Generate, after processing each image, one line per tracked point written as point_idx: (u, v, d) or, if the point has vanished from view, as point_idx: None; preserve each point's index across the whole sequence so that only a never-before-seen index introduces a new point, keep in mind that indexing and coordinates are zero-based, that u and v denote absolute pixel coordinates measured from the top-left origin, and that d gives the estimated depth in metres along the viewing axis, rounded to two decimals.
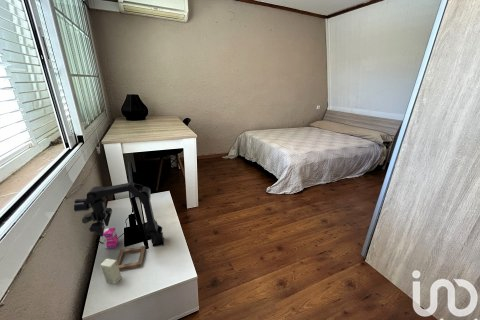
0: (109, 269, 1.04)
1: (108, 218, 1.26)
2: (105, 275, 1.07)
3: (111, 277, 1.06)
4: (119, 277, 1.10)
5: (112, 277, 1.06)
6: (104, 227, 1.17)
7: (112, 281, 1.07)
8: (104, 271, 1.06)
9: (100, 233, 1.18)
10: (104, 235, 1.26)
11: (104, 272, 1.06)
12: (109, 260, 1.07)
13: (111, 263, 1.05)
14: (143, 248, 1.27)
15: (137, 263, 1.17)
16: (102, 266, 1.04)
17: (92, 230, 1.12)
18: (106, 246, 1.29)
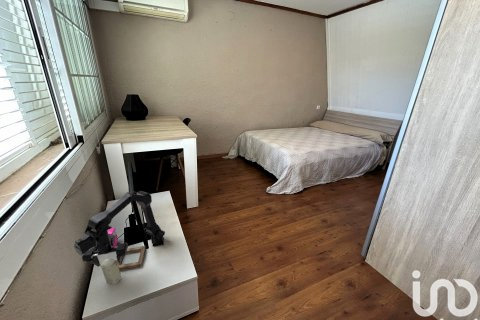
0: (109, 269, 1.04)
1: None
2: (105, 275, 1.07)
3: (111, 277, 1.06)
4: (119, 277, 1.10)
5: (112, 277, 1.06)
6: (92, 261, 1.00)
7: (112, 281, 1.07)
8: (104, 271, 1.06)
9: None
10: None
11: (104, 272, 1.06)
12: (109, 260, 1.07)
13: (111, 263, 1.05)
14: (143, 248, 1.27)
15: (137, 263, 1.17)
16: (102, 266, 1.04)
17: None
18: None
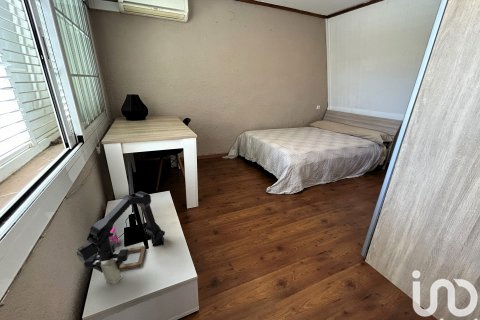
0: (109, 269, 1.04)
1: None
2: (105, 275, 1.07)
3: (111, 277, 1.06)
4: (119, 277, 1.10)
5: (112, 277, 1.06)
6: (96, 267, 1.02)
7: (112, 281, 1.07)
8: (104, 271, 1.06)
9: None
10: None
11: (104, 272, 1.06)
12: (109, 260, 1.07)
13: (111, 263, 1.05)
14: (143, 248, 1.27)
15: (137, 263, 1.17)
16: (102, 266, 1.04)
17: None
18: None
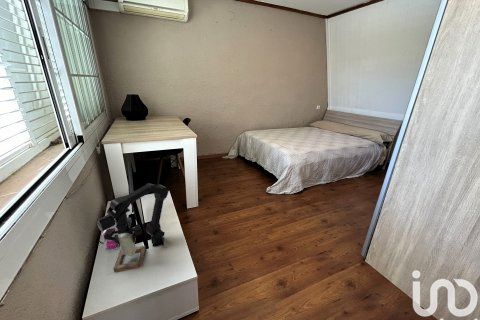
0: (126, 241, 1.14)
1: None
2: (122, 247, 1.17)
3: (128, 249, 1.16)
4: (134, 250, 1.20)
5: (129, 249, 1.16)
6: (114, 239, 1.12)
7: (128, 253, 1.17)
8: (121, 244, 1.16)
9: None
10: None
11: (121, 245, 1.16)
12: (126, 234, 1.17)
13: (128, 236, 1.15)
14: (143, 248, 1.27)
15: (137, 263, 1.17)
16: (120, 239, 1.14)
17: None
18: (106, 246, 1.29)
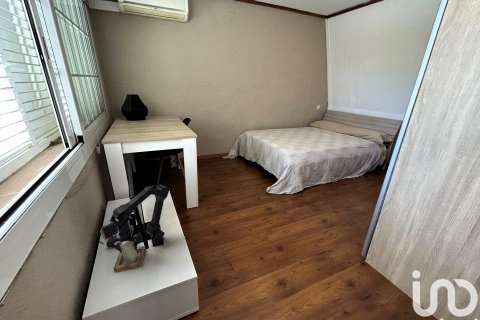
0: (128, 249, 1.16)
1: (134, 244, 1.18)
2: (124, 255, 1.19)
3: (130, 256, 1.18)
4: (136, 257, 1.22)
5: (131, 256, 1.18)
6: (116, 247, 1.14)
7: (130, 260, 1.19)
8: (123, 251, 1.18)
9: None
10: None
11: (123, 252, 1.18)
12: (127, 241, 1.19)
13: (130, 244, 1.17)
14: (143, 248, 1.27)
15: (137, 263, 1.17)
16: (122, 246, 1.17)
17: None
18: (106, 246, 1.29)
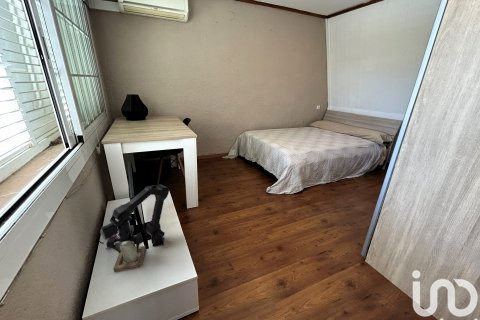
0: (128, 249, 1.16)
1: (136, 244, 1.18)
2: (124, 255, 1.19)
3: (130, 256, 1.18)
4: (136, 257, 1.22)
5: (131, 256, 1.18)
6: (115, 247, 1.14)
7: (130, 260, 1.19)
8: (123, 251, 1.18)
9: None
10: None
11: (123, 252, 1.18)
12: (127, 241, 1.19)
13: (130, 244, 1.17)
14: (143, 248, 1.27)
15: (137, 263, 1.17)
16: (122, 246, 1.17)
17: None
18: (106, 246, 1.29)
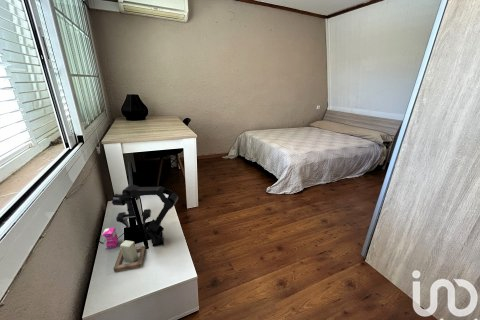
0: (128, 249, 1.16)
1: (143, 220, 1.30)
2: (124, 255, 1.19)
3: (130, 256, 1.18)
4: (136, 257, 1.22)
5: (131, 256, 1.18)
6: (124, 222, 1.26)
7: (130, 260, 1.19)
8: (123, 251, 1.18)
9: None
10: (104, 235, 1.26)
11: (123, 252, 1.18)
12: (127, 241, 1.19)
13: (130, 244, 1.17)
14: (143, 248, 1.27)
15: (137, 263, 1.17)
16: (122, 246, 1.17)
17: None
18: (106, 246, 1.29)
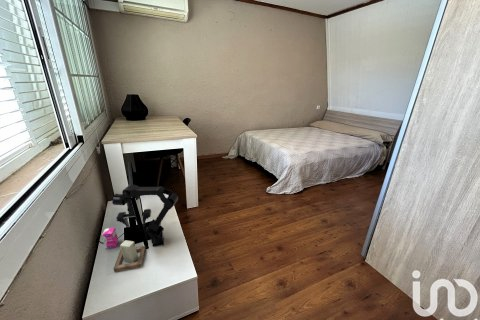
0: (128, 249, 1.16)
1: (143, 220, 1.30)
2: (124, 255, 1.19)
3: (130, 256, 1.18)
4: (136, 257, 1.22)
5: (131, 256, 1.18)
6: (124, 221, 1.26)
7: (130, 260, 1.19)
8: (123, 251, 1.18)
9: None
10: (104, 235, 1.26)
11: (123, 252, 1.18)
12: (127, 241, 1.19)
13: (130, 244, 1.17)
14: (143, 248, 1.27)
15: (137, 263, 1.17)
16: (122, 246, 1.17)
17: None
18: (106, 246, 1.29)
